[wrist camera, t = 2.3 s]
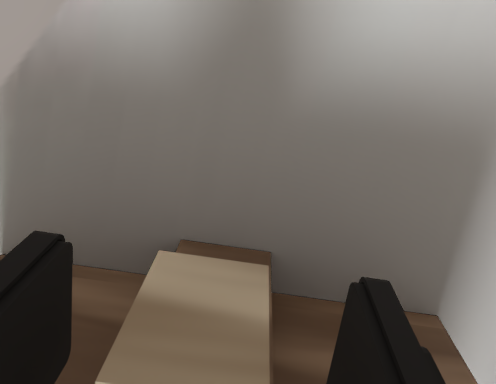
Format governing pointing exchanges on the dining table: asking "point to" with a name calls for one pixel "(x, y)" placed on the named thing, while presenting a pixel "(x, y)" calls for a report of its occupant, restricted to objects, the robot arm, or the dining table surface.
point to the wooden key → (194, 325)
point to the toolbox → (280, 324)
